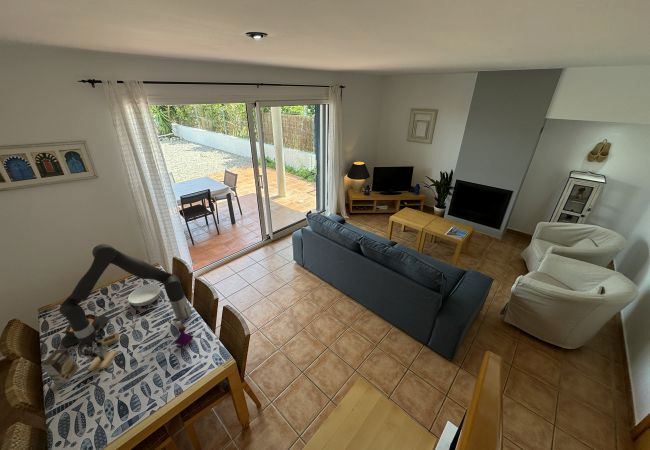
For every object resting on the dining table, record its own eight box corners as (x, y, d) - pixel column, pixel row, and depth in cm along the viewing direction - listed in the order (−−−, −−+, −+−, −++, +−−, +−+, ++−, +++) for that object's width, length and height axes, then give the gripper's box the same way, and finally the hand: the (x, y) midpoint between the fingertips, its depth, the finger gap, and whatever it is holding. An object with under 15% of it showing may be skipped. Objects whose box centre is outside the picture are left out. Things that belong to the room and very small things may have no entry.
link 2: (118, 335, 168) (117, 332, 166) (118, 341, 164) (117, 338, 162) (103, 341, 164) (101, 338, 162) (103, 347, 160) (101, 344, 158)
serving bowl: (155, 286, 209) (152, 280, 206) (168, 297, 198) (165, 290, 195) (126, 302, 194) (123, 295, 191) (138, 314, 183) (135, 307, 180)
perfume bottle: (194, 339, 165) (187, 319, 157) (185, 349, 159) (177, 329, 150) (185, 336, 167) (178, 316, 159) (176, 345, 161) (167, 325, 153)
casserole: (101, 313, 184) (96, 305, 180) (115, 323, 176) (110, 315, 172) (56, 340, 165) (49, 331, 161) (70, 353, 157) (63, 344, 153)
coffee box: (67, 383, 141) (52, 364, 133) (55, 384, 140) (39, 365, 133) (80, 367, 149) (67, 348, 141) (68, 367, 148) (54, 349, 141)
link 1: (108, 348, 152) (106, 344, 150) (103, 356, 147) (101, 352, 146) (93, 350, 150) (91, 346, 149) (87, 358, 146) (85, 355, 144)
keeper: (117, 352, 157) (113, 345, 154) (108, 367, 148) (103, 360, 145) (99, 354, 156) (94, 347, 153) (89, 370, 147) (84, 363, 144)
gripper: (84, 342, 135) (97, 362, 143) (100, 320, 147) (112, 340, 155) (68, 344, 134) (82, 364, 142) (85, 322, 146) (98, 342, 154)
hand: (98, 352), depth 148 cm, fingers closed on link 1, 5 cm apart
